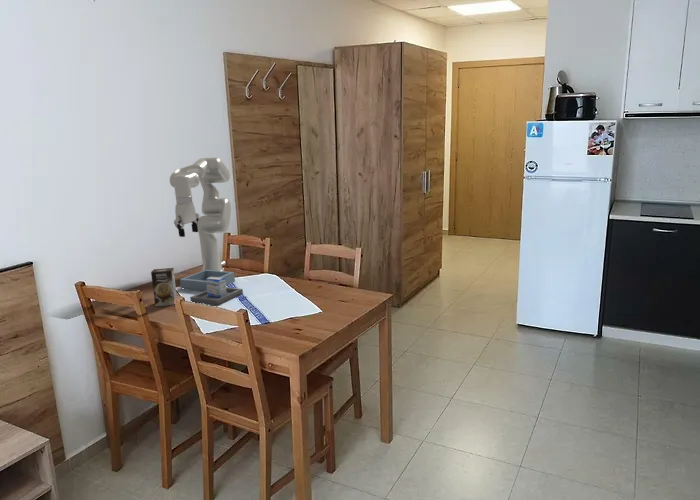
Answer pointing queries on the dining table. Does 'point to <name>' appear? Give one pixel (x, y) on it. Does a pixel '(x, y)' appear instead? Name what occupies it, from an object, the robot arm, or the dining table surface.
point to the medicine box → (216, 287)
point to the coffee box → (164, 286)
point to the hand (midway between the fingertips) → (188, 234)
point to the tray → (216, 301)
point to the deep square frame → (199, 279)
